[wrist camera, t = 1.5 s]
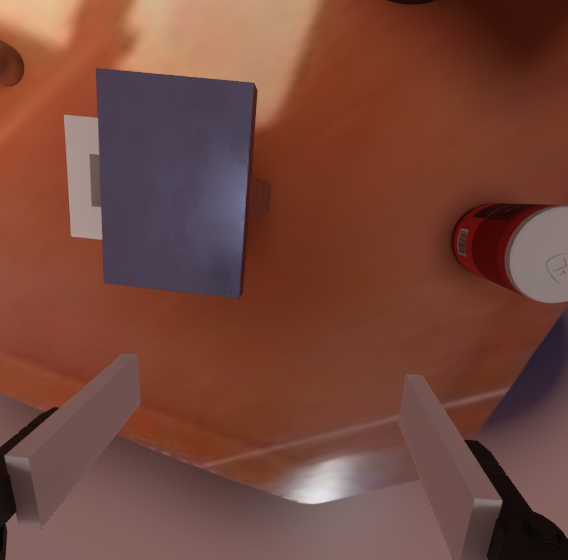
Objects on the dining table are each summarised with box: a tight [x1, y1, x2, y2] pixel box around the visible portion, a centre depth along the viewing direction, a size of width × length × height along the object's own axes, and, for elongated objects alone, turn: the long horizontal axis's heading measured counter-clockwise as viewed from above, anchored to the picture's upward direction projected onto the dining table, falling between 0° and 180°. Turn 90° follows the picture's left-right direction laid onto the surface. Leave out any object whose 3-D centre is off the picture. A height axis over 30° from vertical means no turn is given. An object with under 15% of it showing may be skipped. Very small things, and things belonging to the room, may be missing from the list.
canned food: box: [453, 203, 568, 303], centre depth 31 cm, size 8×8×11 cm
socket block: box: [64, 115, 102, 240], centre depth 36 cm, size 12×14×4 cm
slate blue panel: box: [96, 68, 271, 299], centre depth 30 cm, size 14×10×16 cm
